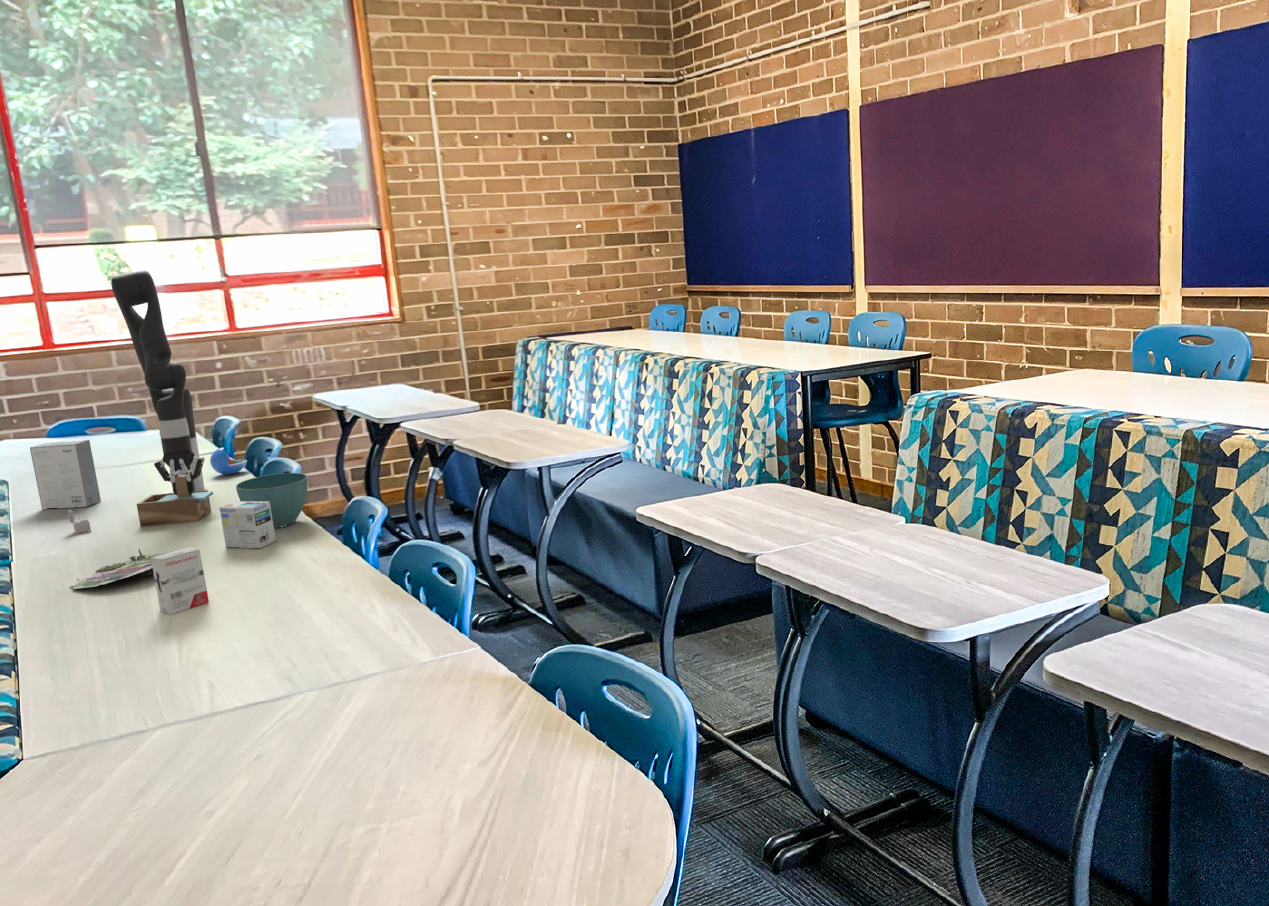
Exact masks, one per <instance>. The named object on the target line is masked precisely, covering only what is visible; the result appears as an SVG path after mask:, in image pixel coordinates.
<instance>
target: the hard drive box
mask: <svg viewBox="0 0 1269 906" xmlns="http://www.w3.org/2000/svg"><path fill="white" fill-rule="evenodd" d="M29 451H30V455H31V460H32V465H33V471H34V475H35V481H36V486H37V490H38V495H39V501H40V505H41V510H45V509H44V508H58V509H72V508H73V509H75V507H78V508H86V507H89V506H92V505H94V504H96V503H99V502H101V501H102V499H101V493H100V487H99V484H98V483H99V482H98V479H97V472H96V468H95V463H94V462H95V461H94V457H93V451H92V447H91V441H90V439H82V440H81V439H80V440H68V441H67V440H65V441H55V442H54V441H53V442H44V443H41V444H37V445H33V446H30V447H29Z"/></svg>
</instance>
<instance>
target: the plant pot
mask: <svg viewBox="0 0 1269 906" xmlns="http://www.w3.org/2000/svg"><path fill="white" fill-rule="evenodd" d="M235 488H236V489H235V490H236V493H237V496H238V498H239V502H250V501H254V502H267V501H269V502H270V507H271V513H272V520H273V526H274V529H277V528H276V527H281V526H285V525H288V524H291V525H293V524H294V523H296V521H297V519H298V517H300V516H299V515H300V514H301V512H302V510H303V508H304V506H305V502H306V500H307V493H308V476H307V474H306V473H305V474H304V473H301V472H284V473H272V474H267V475H262V476H258V477H253V478H252V477H251V478H249V479H247V480H242V481H241V482H238V483H237V484H236V485H235ZM293 522H294V523H293ZM292 523H293V524H292ZM285 527H286V526H285ZM281 528H282V527H281Z"/></svg>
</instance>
